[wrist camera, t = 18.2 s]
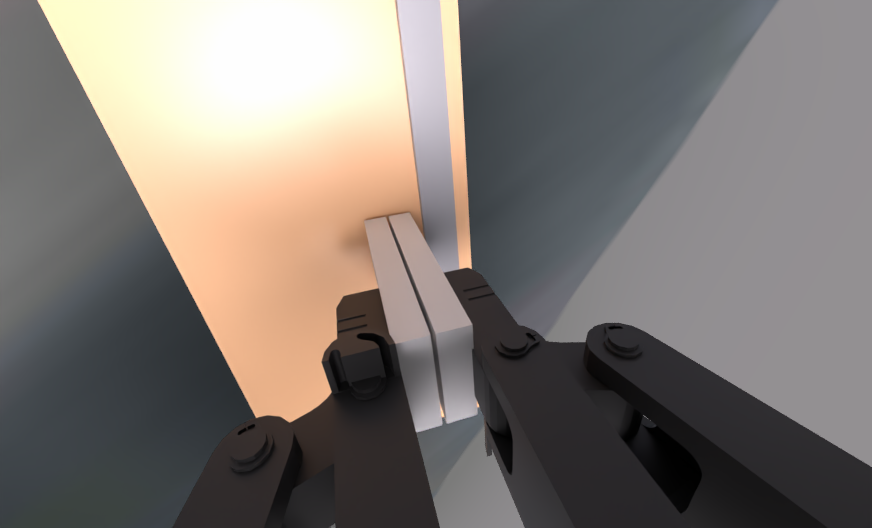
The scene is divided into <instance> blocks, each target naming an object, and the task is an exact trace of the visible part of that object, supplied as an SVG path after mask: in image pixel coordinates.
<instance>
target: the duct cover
mask: <svg viewBox="0 0 872 528" xmlns="http://www.w3.org/2000/svg"><path fill="white" fill-rule="evenodd" d="M38 2H39V4H40V6H41V8H42V9H43V11H44V13H45V15H46V17H47V19H48V21H49V23H50V25H51V27H52V29H53V30H54V32H55V34H56V36H57V38H58V40H59V42H60V44H61V46H62V48H63V50H64V51H65V53H66V55H67V57H68V59H69V61H70V63H71V65H72V67H73V69H74V71H75V73H76V74H77V76H78V78H79V80H80V82H81V84H82V86H83V88H84V90H85V92H86V94H87V95H88V97H89V99H90V101H91V103H92V105H93V107H94V109H95V111H96V113H97V115H98V116H99V118H100V120H101V122H102V124H103V126H104V128H105V130H106V132H107V134H108V136H109V137H110V139H111V141H112V143H113V145H114V147H115V149H116V151H117V153H118V155H119V157H120V159H121V160H122V162H123V164H124V166H125V168H126V170H127V172H128V174H129V176H130V178H131V180H132V181H133V183H134V185H135V187H136V189H137V191H138V193H139V195H140V197H141V199H142V201H143V202H144V204H145V206H146V208H147V210H148V212H149V214H150V216H151V218H152V220H153V222H154V224H155V225H156V227H157V229H158V231H159V233H160V235H161V237H162V239H163V241H164V243H165V245H166V246H167V248H168V250H169V252H170V254H171V256H172V258H173V260H174V262H175V264H176V266H177V267H178V269H179V271H180V273H181V275H182V277H183V279H184V281H185V283H186V285H187V287H188V289H189V290H190V292H191V294H192V296H193V298H194V300H195V302H196V304H197V306H198V308H199V310H200V311H201V313H202V315H203V317H204V319H205V321H206V323H207V325H208V327H209V329H210V331H211V332H212V334H213V336H214V338H215V340H216V342H217V344H218V346H219V348H220V350H221V352H222V354H223V355H224V357H225V359H226V361H227V363H228V365H229V367H230V369H231V371H232V373H233V375H234V376H235V378H236V380H237V382H238V384H239V386H240V388H241V390H242V392H243V394H244V396H245V397H246V399H247V401H248V403H249V405H250V407H251V409H252V411H253V413H254V415H255V417H256V418H258V417H262V416H266V415H271V416H280V417H282V418H283V419H285V420H286V421H288V422H289V423H290V422H292V421H294V420H295V419H297V418H299V417H301V416H303V415H304V414H306V413H308V412H310V411H311V410H313V409H314V408H316V407H317V406H319V405H320V404H321V403H322V402H323V401H324V400H326V399H327V398H328V396H329V395H330V394H331V392H332V391H331V389H330V386H329V383H328V380H327V377H326V374H325V371H324V368H323V365H322V363H321V361H322V358H323V354H324V351H325V350H326V349H327V348H328V347H329V345H330V344H331V343H332V342H333V341H335V340H336V339H337V318H336V308H337V306H338V304H339V303H340V301H341V299H342V297H343V296H345V295H350V294H354V293H359V292H363V291H368V290H372V289H377V288H378V285H377V281H376V276H375V271H374V266H373V262H372V257H371V252H370V247H369V243H368V238H367V233H366V228H365V224H364V221H365V220H370V219H376V218H381V217H386V219H387V222H388V224H389V227H390V223H389V217H388V216H392V215H397V214H403V213H408V212H410V214H411V216H412V218H413V219H414V221H415V223H416V225H417V227H418V228H419V230H420V232H421V234H422V235H423V237H424V239H425V241H426V243H427V244H428V246H429V248H430V250H431V252H432V253H433V255H434V257H435V259H436V260H437V262H438V264H439V266H440V268H441V269H442V271H443V273H444V272H449V271H453V270H458V269H463V268H467V267H468V268H470V269H472V266H471V247H470V228H469V209H468V190H467V170H466V151H465V132H464V113H463V94H462V75H461V56H460V37H459V17H458V0H38ZM390 230H391V229H390ZM477 407H479V404H478V402H477ZM440 409H441V417H444V414H443V411H442V408H441V405H440Z"/></svg>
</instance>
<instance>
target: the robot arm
mask: <svg viewBox="0 0 872 528" xmlns="http://www.w3.org/2000/svg"><path fill="white" fill-rule="evenodd" d="M388 217H389V223H390V227H389V224H388V222H387V219H386V217H381V218H376V219H370V220H365V221H364V224H365V228H366V233H367V238H368V243H369V247H370V252H371V257H372V262H373V266H374V271H375V276H376V281H377V285H378V288H377V289H372V290H368V291H363V292H359V293H354V294H350V295H345V296H343V297H342V299H341V301H340V303H339V304H338V306H337V308H336V318H337V339H336V340H335V341H333V342H332V343H331V344H330V345H329V347H328V348H327V349H326V350H325V351H324V354H323V358H322V361H321V363H322V365H323V368H324V371H325V374H326V377H327V380H328V383H329V386H330V389H331V391H332V392H331V394H330V395H329V396H328V398H327V399H326V400H324V401H323V402H322V403H321V404H320V405H319V406H317V407H316V408H314V409H313V410H311V411H310V412H308V413H306V414H304V415H303V416H301V417H299V418H297V419H295V420H294V421H292V422H290V423H289V422H288V421H286V420H285V419H283V418H282V417H280V416H271V415H266V416H262V417H258V418H254V419H251V420H249V421H247V422H245V423H243V424H242V425H240V426H238V427H236V428H235V429H234V430H233V431H232V432H230V433H229V434H228V435H227V436H226V437H225V438H223V440H222V441H221V442H220V444H219V445H218V446H217V448H216V449H215V450H214V452H213V453H212V455H211V457H210V459H209V461H208V462H207V464H206V466H205V468H204V470H203V472H202V474H201V476H200V477H199V479H198V481H197V483H196V485H195V487H194V489H193V490H192V492H191V494H190V496H189V498H188V500H187V502H186V503H185V505H184V507H183V509H182V511H181V513H180V515H179V516H178V518H177V520H176V522H175V524H174V526H173V528H331V526H332V525H333V524H334V523H335V525H336V528H440V527H439V523H438V519H437V514H436V510H435V507H434V502H433V498H432V494H431V490H430V486H429V482H428V478H427V474H426V470H425V466H424V462H423V458H422V454H421V450H420V446H419V442H418V438H417V434H416V433H417V432H420V431H424V430H427V429H430V428H434V427H437V426H441V425H443V424H442V417H441V409H440V405H441V408H442V411H443V414H444V417H445V420H446V423H447V424H448V423H451V422H454V421H458V420H461V419H464V418H468V417H471V416H475V415H478V413H477V402H478V404H479V406H480V409H481V411H482V413H483V415H484V422H485V446H486V452H487V456H490V455H492V450H493V452H494V455H495V457H496V459H497V462H498V464H499V467H500V469H501V471H502V474H503V476H504V479H505V481H506V484H507V486H508V488H509V491H510V493H511V495H512V498H513V500H514V503H515V505H516V507H517V510H518V512H519V515H520V517H521V520H522V522H523V524H524V527H525V528H872V467H870V466H869V465H867V464H865V463H864V462H862V461H860V460H859V459H857V458H855V457H854V456H852V455H850V454H849V453H847V452H845V451H844V450H842V449H840V448H838V447H837V446H835V445H833V444H832V443H830V442H829V441H827V440H825V439H824V438H822V437H820V436H819V435H817V434H815V433H813V432H812V431H810V430H809V429H807V428H805V427H803V426H802V425H800V424H798V423H797V422H795V421H793V420H792V419H790V418H788V417H787V416H785V415H783V414H782V413H780V412H778V411H777V410H775V409H773V408H772V407H770V406H768V405H767V404H765V403H763V402H762V401H760V400H758V399H757V398H755V397H753V396H752V395H750V394H748V393H747V392H745V391H743V390H742V389H740V388H738V387H737V386H735V385H733V384H732V383H730V382H728V381H727V380H724V379H723V378H721V377H720V376H718V375H716V374H715V373H713V372H711V371H710V370H708V369H706V368H704V367H703V366H701V365H700V364H698V363H696V362H695V361H693V360H691V359H690V358H688V357H686V356H685V355H683V354H681V353H679V352H678V351H676V350H675V349H673V348H671V347H670V346H668V345H666V344H665V343H663V342H661V341H659V340H658V339H656V338H654V337H653V336H651V335H649V334H648V333H646V332H644V331H642V330H640V329H638V328H635V327H633V326H630V325H625V324H621V323H604V324H601V325H597V326H595V327H593V329H591V330H590V331H589V332H588V335H587V338H586V342H579V343H578V342H577V343H573V342H571V343H559V342H548V341H545V339H544V338H543V337H542V336H541V335H539V334H538V333H537V332H536V331H534V330H532V329H530V328H527V327H525V326H519V325H518V324H517V323H516V321H515V320H514V319H513V317H512V316H511V314H510V313H509V312H508V310H507V309H506V308H505V306H504V305H503V304H502V302H501V301H500V300H499V298H498V297H497V295H495V294H494V291H493V290H492V289H491V287H490V286H488V283H487V282H486V281H485V279H484V278H483V277H482V275H481V274H479V273H477V272H476V271H474V270H472V269H470V268H468V267H467V268H463V269H458V270H453V271H449V272H444V273H443V271H442V269H441V268H440V266H439V264H438V262H437V260H436V259H435V257H434V255H433V253H432V252H431V250H430V248H429V246H428V244H427V243H426V241H425V239H424V237H423V235H422V234H421V232H420V230H419V228H418V227H417V225H416V223H415V221H414V219H413V218H412V216H411V214H410V212H408V213H403V214H397V215H392V216H388ZM390 229H391V230H390ZM643 415H644V416H646V417H647V418H648V419H647V418H646V417H644V416H643ZM650 420H651V421H650Z"/></svg>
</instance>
